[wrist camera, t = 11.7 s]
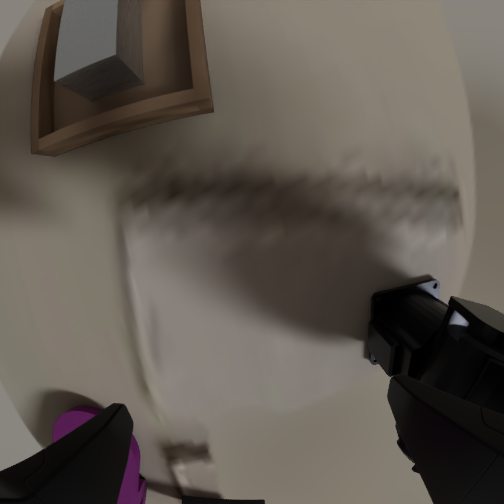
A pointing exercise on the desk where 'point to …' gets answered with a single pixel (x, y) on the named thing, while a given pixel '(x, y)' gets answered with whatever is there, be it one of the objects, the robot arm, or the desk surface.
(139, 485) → the mounting bracket
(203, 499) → the ammunition clip
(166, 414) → the desk surface
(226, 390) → the desk surface
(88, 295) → the desk surface
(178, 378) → the desk surface
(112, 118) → the walnut tray
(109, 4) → the aluminium block
